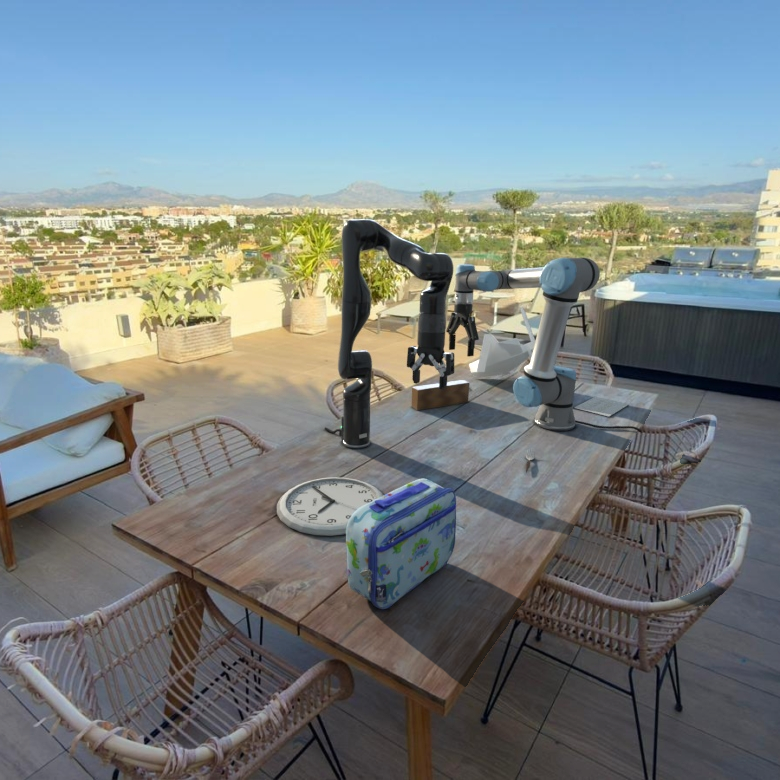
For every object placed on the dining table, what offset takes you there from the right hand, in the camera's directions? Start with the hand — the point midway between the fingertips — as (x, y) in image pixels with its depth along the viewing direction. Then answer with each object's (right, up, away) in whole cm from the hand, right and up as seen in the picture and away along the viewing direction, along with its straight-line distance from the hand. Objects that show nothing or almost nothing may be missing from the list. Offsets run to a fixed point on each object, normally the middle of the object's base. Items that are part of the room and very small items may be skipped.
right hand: (460, 352), depth 223 cm
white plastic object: (+28, -13, +33) cm, 45 cm away
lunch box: (-28, -57, -110) cm, 127 cm away
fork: (+15, -40, -53) cm, 68 cm away
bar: (-9, -22, +3) cm, 24 cm away
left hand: (-19, -15, -76) cm, 80 cm away
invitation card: (+61, -23, +3) cm, 66 cm away
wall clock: (-46, -47, -80) cm, 104 cm away
